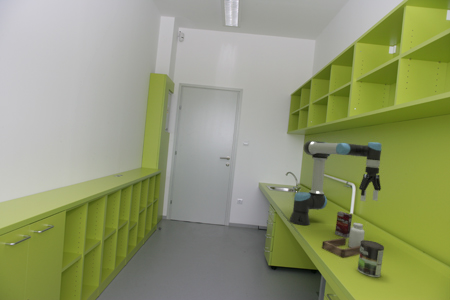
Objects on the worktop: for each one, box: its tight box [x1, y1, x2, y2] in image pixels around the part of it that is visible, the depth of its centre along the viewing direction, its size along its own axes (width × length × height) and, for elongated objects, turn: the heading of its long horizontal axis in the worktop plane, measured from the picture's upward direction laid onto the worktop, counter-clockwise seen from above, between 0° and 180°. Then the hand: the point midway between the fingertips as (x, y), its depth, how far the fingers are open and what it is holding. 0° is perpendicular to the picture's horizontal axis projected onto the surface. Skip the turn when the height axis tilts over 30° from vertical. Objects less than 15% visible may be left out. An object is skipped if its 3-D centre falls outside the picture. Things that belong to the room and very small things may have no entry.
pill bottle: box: [347, 222, 366, 248], centre depth 166 cm, size 8×8×15 cm
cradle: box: [321, 237, 360, 259], centre depth 159 cm, size 14×20×4 cm
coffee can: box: [357, 239, 385, 278], centre depth 133 cm, size 10×10×14 cm
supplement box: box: [334, 211, 353, 239], centre depth 188 cm, size 9×5×16 cm, turn 40°
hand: (368, 200), depth 170 cm, fingers open, 12 cm apart
